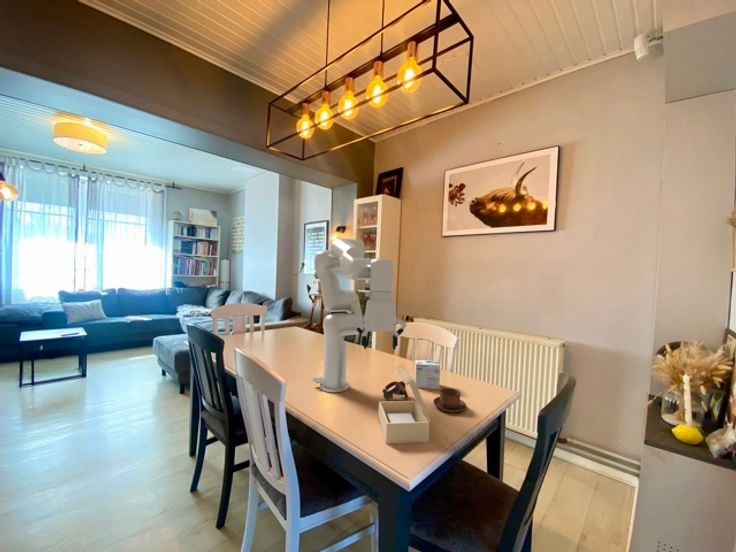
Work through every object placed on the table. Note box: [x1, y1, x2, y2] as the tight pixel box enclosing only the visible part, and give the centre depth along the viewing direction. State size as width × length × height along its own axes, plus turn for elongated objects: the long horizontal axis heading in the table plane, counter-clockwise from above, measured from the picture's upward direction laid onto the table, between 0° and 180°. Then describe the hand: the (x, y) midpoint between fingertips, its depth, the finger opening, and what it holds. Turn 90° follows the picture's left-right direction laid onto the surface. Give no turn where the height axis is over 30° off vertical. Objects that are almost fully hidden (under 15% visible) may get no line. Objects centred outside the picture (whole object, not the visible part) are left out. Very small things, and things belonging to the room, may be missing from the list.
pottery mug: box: [382, 380, 410, 401], centre depth 122 cm, size 12×10×8 cm
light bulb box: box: [414, 359, 441, 390], centre depth 137 cm, size 11×7×11 cm, turn 84°
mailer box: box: [377, 400, 430, 445], centre depth 99 cm, size 13×15×6 cm
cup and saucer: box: [433, 387, 467, 413], centre depth 116 cm, size 12×12×6 cm
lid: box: [395, 364, 432, 422], centre depth 99 cm, size 14×15×3 cm
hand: (379, 348), depth 101 cm, fingers open, 9 cm apart
